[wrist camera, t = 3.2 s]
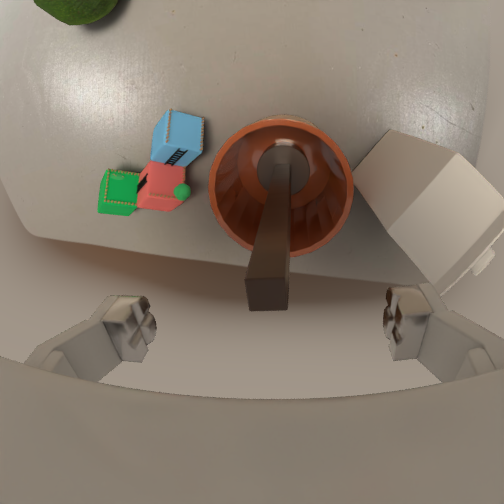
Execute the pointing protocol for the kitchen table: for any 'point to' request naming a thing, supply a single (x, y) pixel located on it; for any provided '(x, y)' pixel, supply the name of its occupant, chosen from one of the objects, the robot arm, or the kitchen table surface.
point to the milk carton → (432, 206)
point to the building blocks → (156, 169)
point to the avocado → (77, 10)
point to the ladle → (275, 226)
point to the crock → (302, 203)
